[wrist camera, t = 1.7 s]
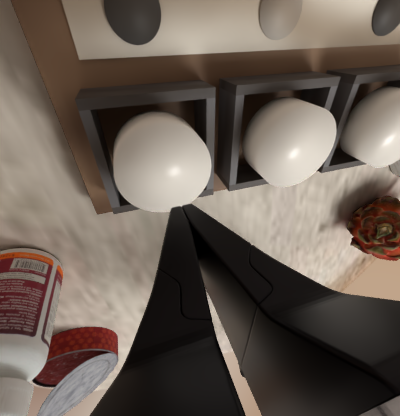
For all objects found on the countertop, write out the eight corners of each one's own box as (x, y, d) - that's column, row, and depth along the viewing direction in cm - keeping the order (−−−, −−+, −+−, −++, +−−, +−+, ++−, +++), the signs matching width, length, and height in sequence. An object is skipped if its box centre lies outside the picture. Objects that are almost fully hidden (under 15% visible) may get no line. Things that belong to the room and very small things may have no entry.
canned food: (68, 296, 31) (77, 344, 23) (124, 318, 37) (147, 364, 29) (5, 373, 28) (-9, 458, 20) (76, 385, 34) (86, 455, 26)
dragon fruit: (324, 204, 31) (374, 190, 36) (333, 263, 31) (381, 242, 36) (400, 202, 23) (451, 185, 28) (409, 281, 24) (457, 251, 29)
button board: (351, 153, 24) (390, 173, 21) (98, 199, 18) (95, 237, 15) (434, -36, 15) (525, -56, 12) (-1, -62, 10) (-62, -113, 6)
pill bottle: (-40, 262, 18) (-175, 466, 10) (37, 235, 19) (-25, 404, 10) (16, 297, 22) (-44, 463, 14) (77, 274, 23) (57, 419, 14)
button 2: (199, 182, 15) (210, 202, 14) (124, 196, 14) (126, 220, 12) (197, 105, 12) (212, 118, 10) (101, 115, 11) (99, 131, 9)
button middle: (298, 164, 17) (320, 180, 15) (239, 175, 16) (255, 193, 14) (318, 93, 14) (349, 102, 12) (246, 100, 13) (268, 111, 11)
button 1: (379, 149, 19) (407, 162, 17) (330, 158, 18) (355, 172, 16) (413, 83, 16) (452, 89, 14) (356, 89, 15) (391, 97, 13)
